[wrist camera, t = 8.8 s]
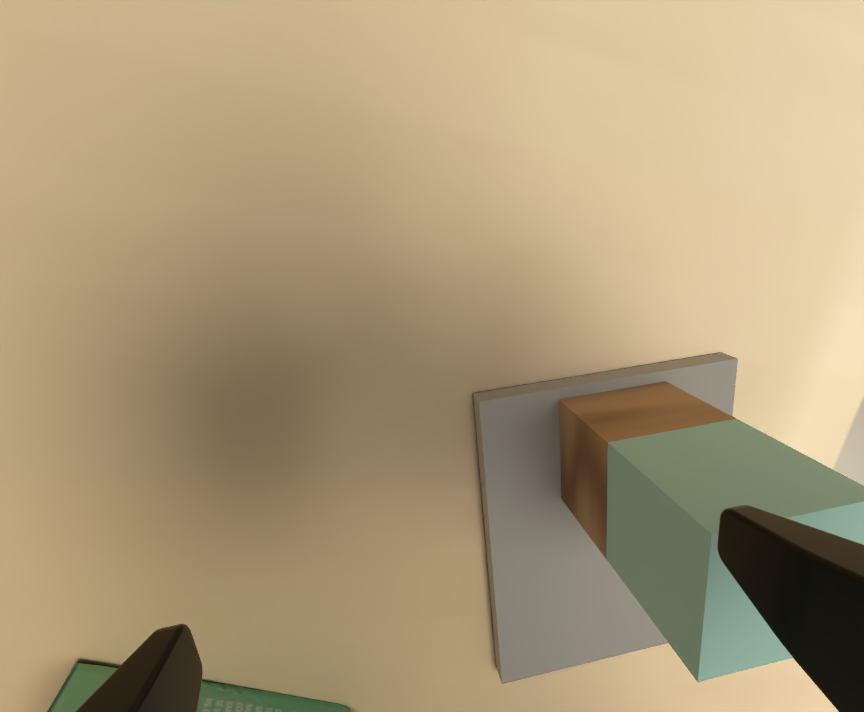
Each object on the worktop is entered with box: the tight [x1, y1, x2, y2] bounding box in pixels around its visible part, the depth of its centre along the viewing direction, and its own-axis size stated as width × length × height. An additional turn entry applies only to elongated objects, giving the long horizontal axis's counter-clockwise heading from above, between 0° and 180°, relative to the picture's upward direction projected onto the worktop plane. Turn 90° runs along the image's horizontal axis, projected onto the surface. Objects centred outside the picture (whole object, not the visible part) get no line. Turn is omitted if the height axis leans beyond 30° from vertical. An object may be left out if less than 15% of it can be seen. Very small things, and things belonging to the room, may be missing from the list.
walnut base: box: [559, 381, 736, 558], centre depth 19 cm, size 5×5×4 cm
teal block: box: [606, 419, 864, 682], centre depth 15 cm, size 5×5×5 cm
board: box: [473, 353, 738, 684], centre depth 23 cm, size 16×12×1 cm
